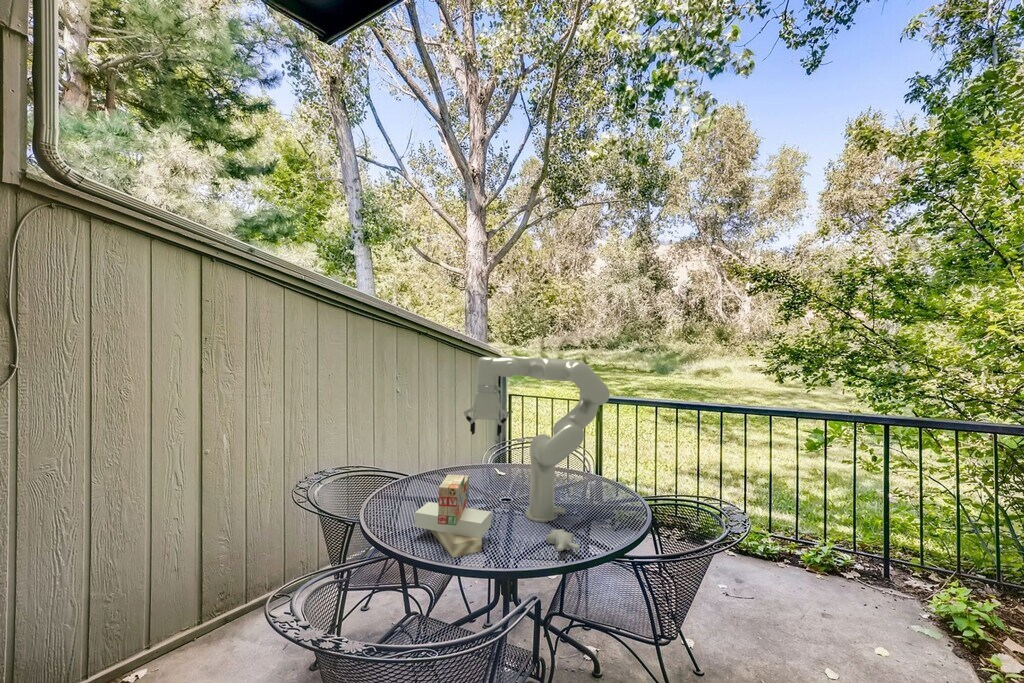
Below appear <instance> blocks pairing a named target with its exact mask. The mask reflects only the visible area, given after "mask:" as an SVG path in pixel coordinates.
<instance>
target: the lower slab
mask: <svg viewBox="0 0 1024 683" xmlns="http://www.w3.org/2000/svg"><path fill="white" fill-rule="evenodd" d="M430 531H431V533H432V534H433V536H435V538H436V539H437V540H438V541H439V543H440V544H441V545H442V547H443V548H444V549H445V550H446V551H447V553H448V554H449V555H450V556H451V557H452V558H458V557H462V556H466V555H469V554H470V555H471V554H475V553H480V552H482V547H483V544H482V543H483V537H481V539H480V538H475V537H469V536H463V535H458V534H452V533H446V532H440V531H435V530H430Z"/></svg>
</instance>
